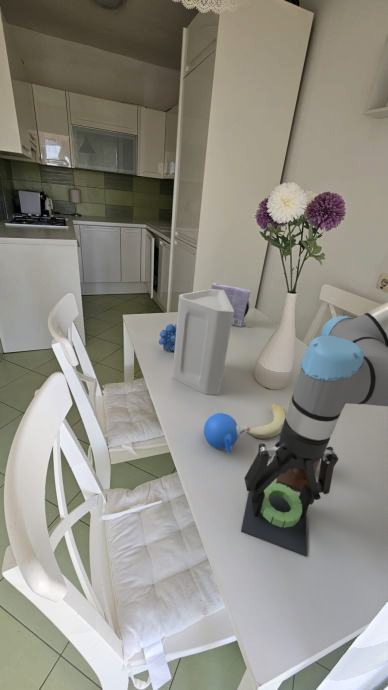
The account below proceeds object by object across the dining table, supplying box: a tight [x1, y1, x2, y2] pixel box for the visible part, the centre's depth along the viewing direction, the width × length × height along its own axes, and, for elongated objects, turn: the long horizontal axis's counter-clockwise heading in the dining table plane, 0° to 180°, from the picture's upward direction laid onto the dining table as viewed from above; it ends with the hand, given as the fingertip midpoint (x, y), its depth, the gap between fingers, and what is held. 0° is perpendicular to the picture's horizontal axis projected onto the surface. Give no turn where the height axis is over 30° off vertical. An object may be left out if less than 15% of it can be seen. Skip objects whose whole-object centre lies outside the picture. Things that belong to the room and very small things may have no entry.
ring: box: [260, 482, 302, 528], centre depth 60 cm, size 8×8×2 cm
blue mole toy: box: [203, 412, 251, 454], centre depth 76 cm, size 12×12×8 cm
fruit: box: [246, 402, 287, 439], centre depth 84 cm, size 7×15×3 cm, turn 139°
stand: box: [275, 459, 321, 493], centre depth 69 cm, size 11×11×11 cm
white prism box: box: [172, 288, 234, 396], centre depth 96 cm, size 19×15×28 cm
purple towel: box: [210, 282, 251, 328], centre depth 144 cm, size 19×5×18 cm, turn 72°
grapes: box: [158, 322, 177, 352], centre depth 115 cm, size 12×7×12 cm, turn 94°
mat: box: [240, 491, 307, 557], centre depth 62 cm, size 12×12×1 cm
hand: (277, 510), depth 61 cm, fingers closed on ring, 8 cm apart
